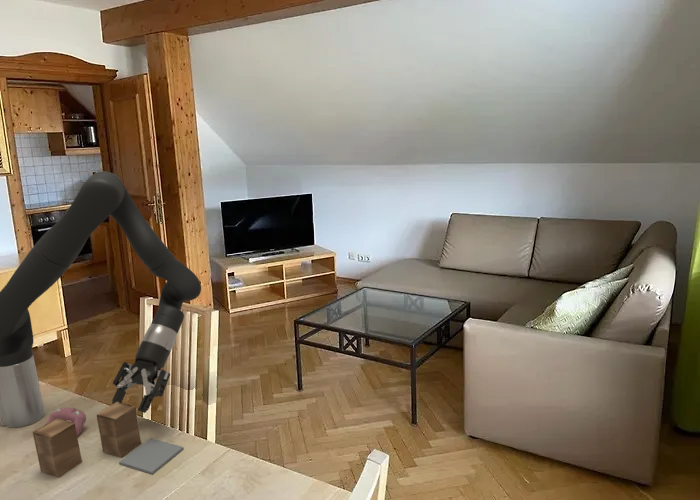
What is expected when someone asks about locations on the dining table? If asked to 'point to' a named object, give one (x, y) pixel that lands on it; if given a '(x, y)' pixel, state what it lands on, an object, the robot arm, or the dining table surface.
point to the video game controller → (69, 417)
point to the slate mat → (151, 456)
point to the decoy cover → (57, 447)
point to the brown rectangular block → (118, 429)
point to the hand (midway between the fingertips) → (128, 408)
